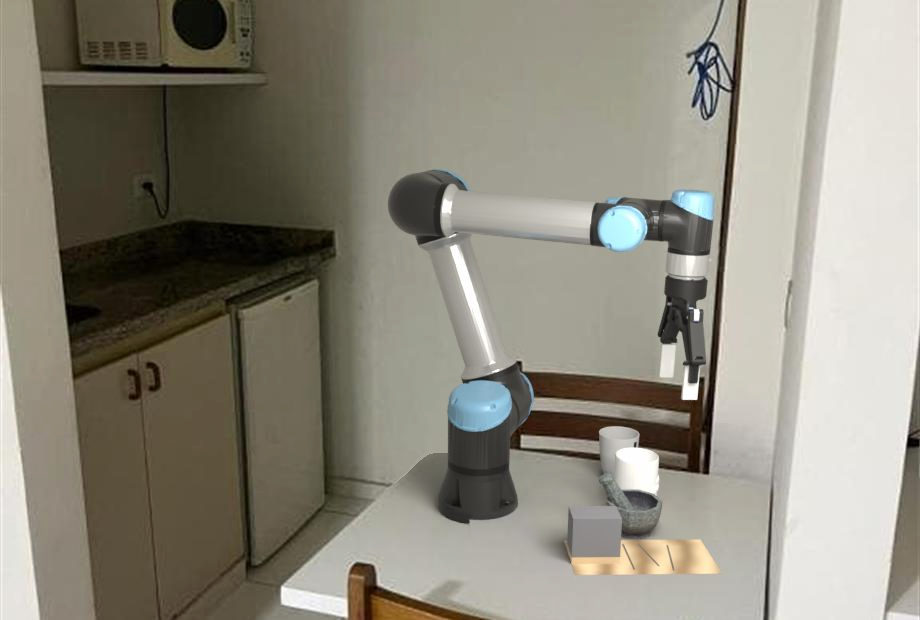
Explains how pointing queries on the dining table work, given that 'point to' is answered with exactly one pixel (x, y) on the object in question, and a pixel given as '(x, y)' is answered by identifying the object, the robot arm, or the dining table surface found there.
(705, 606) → the dining table surface
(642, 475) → the mug
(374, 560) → the dining table surface
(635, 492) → the mortar and pestle
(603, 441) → the cup
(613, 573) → the board
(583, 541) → the block
